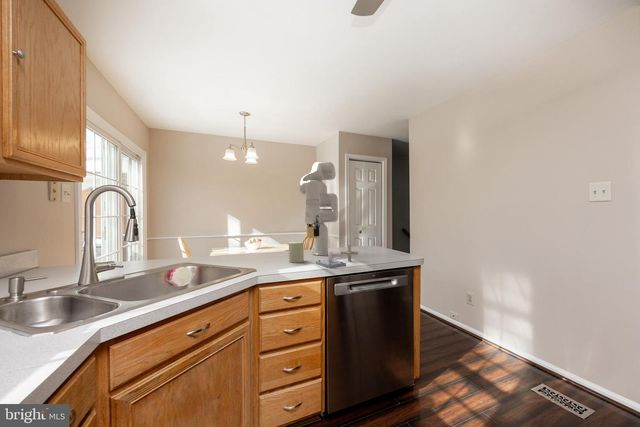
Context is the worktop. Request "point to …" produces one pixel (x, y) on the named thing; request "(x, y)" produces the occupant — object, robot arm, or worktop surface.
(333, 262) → the shaft stand
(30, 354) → the worktop surface
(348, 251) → the pipe connector
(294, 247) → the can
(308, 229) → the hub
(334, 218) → the robot arm
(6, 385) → the worktop surface
